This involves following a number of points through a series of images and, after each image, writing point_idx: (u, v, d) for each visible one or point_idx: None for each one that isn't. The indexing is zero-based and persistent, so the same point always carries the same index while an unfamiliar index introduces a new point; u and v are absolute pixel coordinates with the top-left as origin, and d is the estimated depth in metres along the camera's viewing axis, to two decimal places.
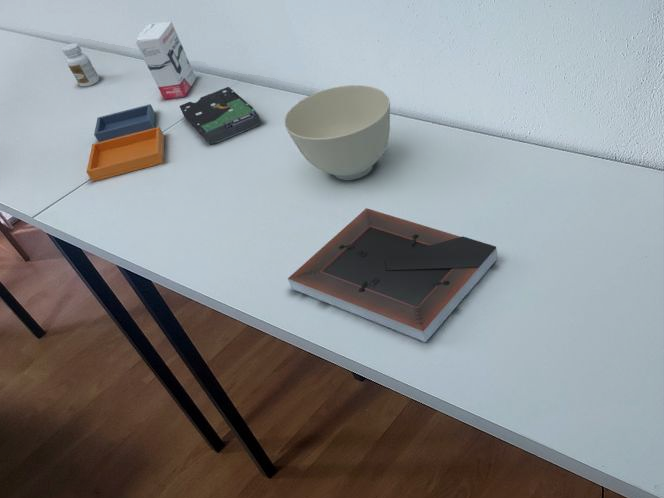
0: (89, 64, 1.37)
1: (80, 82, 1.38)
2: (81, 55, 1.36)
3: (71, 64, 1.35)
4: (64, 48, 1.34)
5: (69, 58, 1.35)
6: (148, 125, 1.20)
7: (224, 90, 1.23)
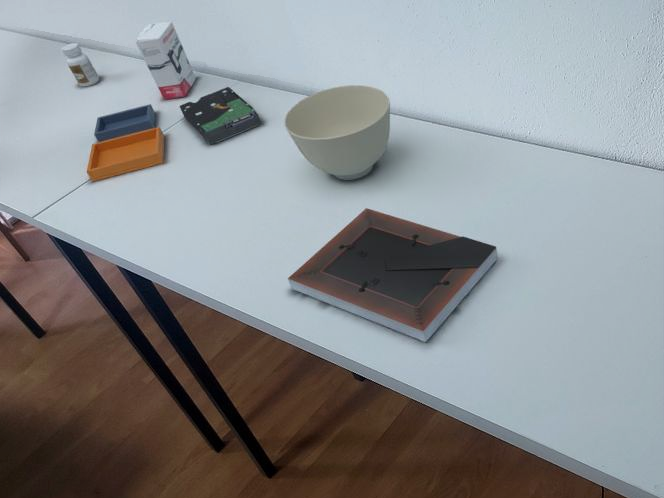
0: (89, 64, 1.37)
1: (80, 82, 1.38)
2: (81, 55, 1.36)
3: (71, 64, 1.35)
4: (64, 48, 1.34)
5: (69, 58, 1.35)
6: (148, 125, 1.20)
7: (224, 90, 1.23)
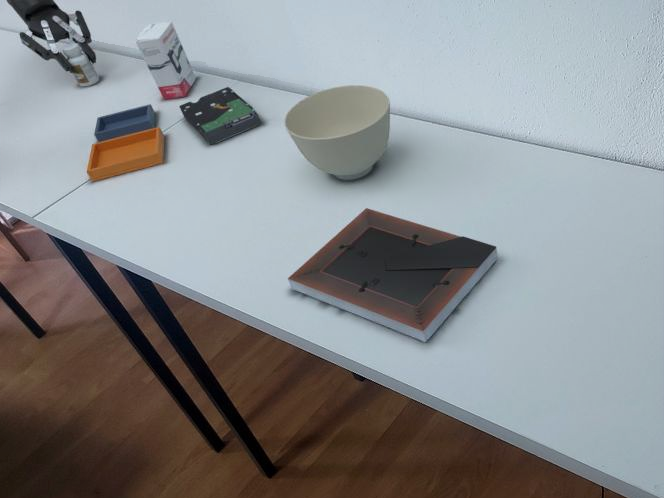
0: (89, 64, 1.37)
1: (80, 82, 1.38)
2: (81, 55, 1.36)
3: (71, 64, 1.35)
4: (64, 48, 1.34)
5: (69, 58, 1.35)
6: (148, 125, 1.20)
7: (224, 90, 1.23)
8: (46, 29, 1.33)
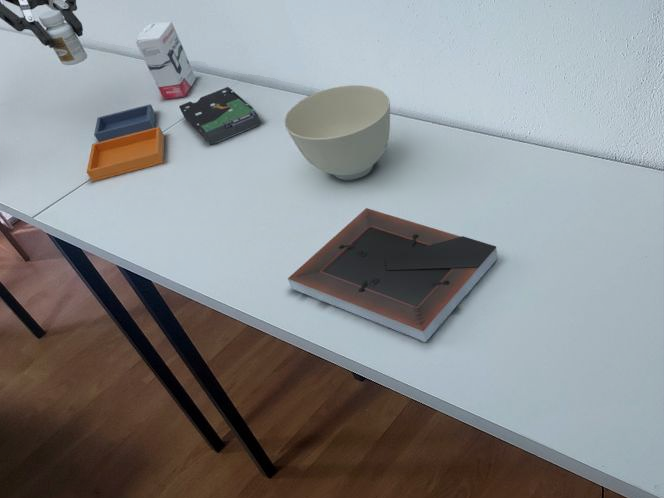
0: (74, 37, 1.09)
1: (63, 60, 1.10)
2: (64, 25, 1.07)
3: (51, 37, 1.07)
4: (42, 16, 1.06)
5: (48, 29, 1.07)
6: (148, 125, 1.20)
7: (224, 90, 1.23)
8: None
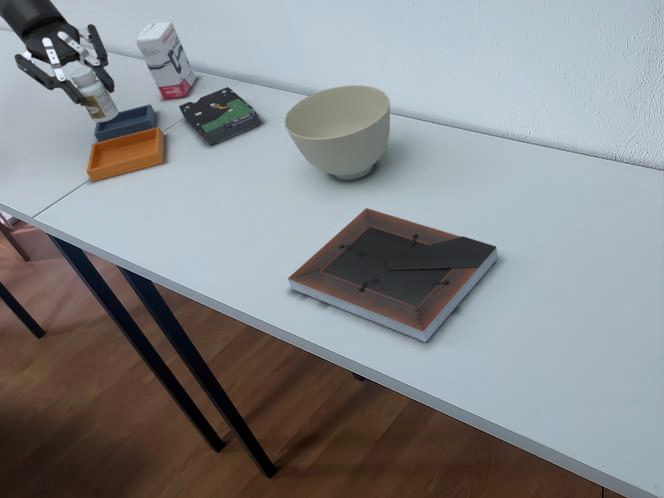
0: (106, 94, 1.05)
1: (94, 117, 1.07)
2: (95, 83, 1.04)
3: (83, 95, 1.04)
4: (73, 74, 1.02)
5: (80, 87, 1.03)
6: (148, 125, 1.20)
7: (224, 90, 1.23)
8: (50, 49, 1.01)
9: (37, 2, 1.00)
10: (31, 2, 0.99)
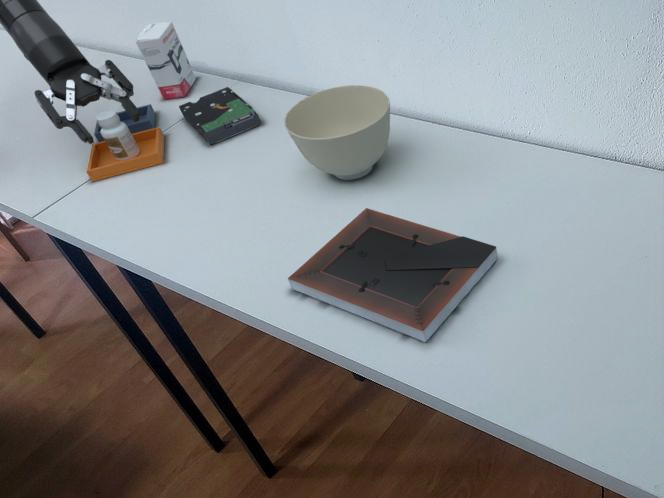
0: (129, 135, 1.11)
1: (117, 157, 1.12)
2: (119, 125, 1.09)
3: (107, 137, 1.09)
4: (99, 117, 1.08)
5: (104, 129, 1.09)
6: (148, 125, 1.20)
7: (223, 90, 1.23)
8: (70, 91, 1.06)
9: (62, 46, 1.04)
10: (56, 46, 1.04)
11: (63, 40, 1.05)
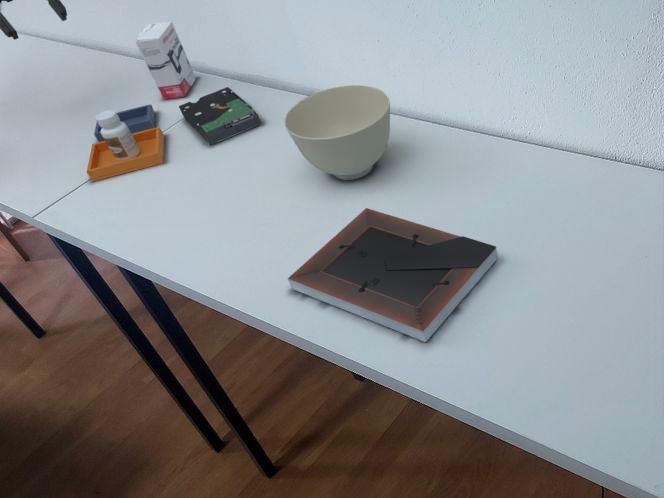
0: (129, 135, 1.11)
1: (117, 157, 1.12)
2: (119, 125, 1.09)
3: (107, 136, 1.09)
4: (99, 117, 1.08)
5: (105, 129, 1.09)
6: (148, 125, 1.20)
7: (223, 90, 1.23)
8: None
9: None
10: None
11: None
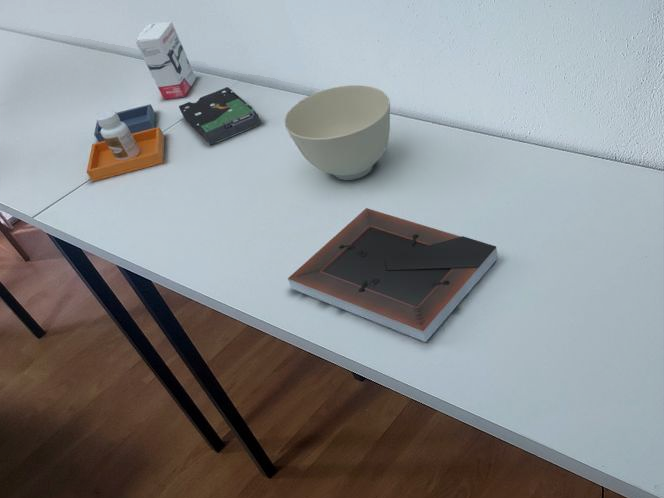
0: (129, 135, 1.11)
1: (117, 157, 1.12)
2: (119, 125, 1.09)
3: (107, 136, 1.09)
4: (99, 117, 1.08)
5: (105, 129, 1.09)
6: (148, 125, 1.20)
7: (223, 90, 1.23)
8: None
9: None
10: None
11: None
